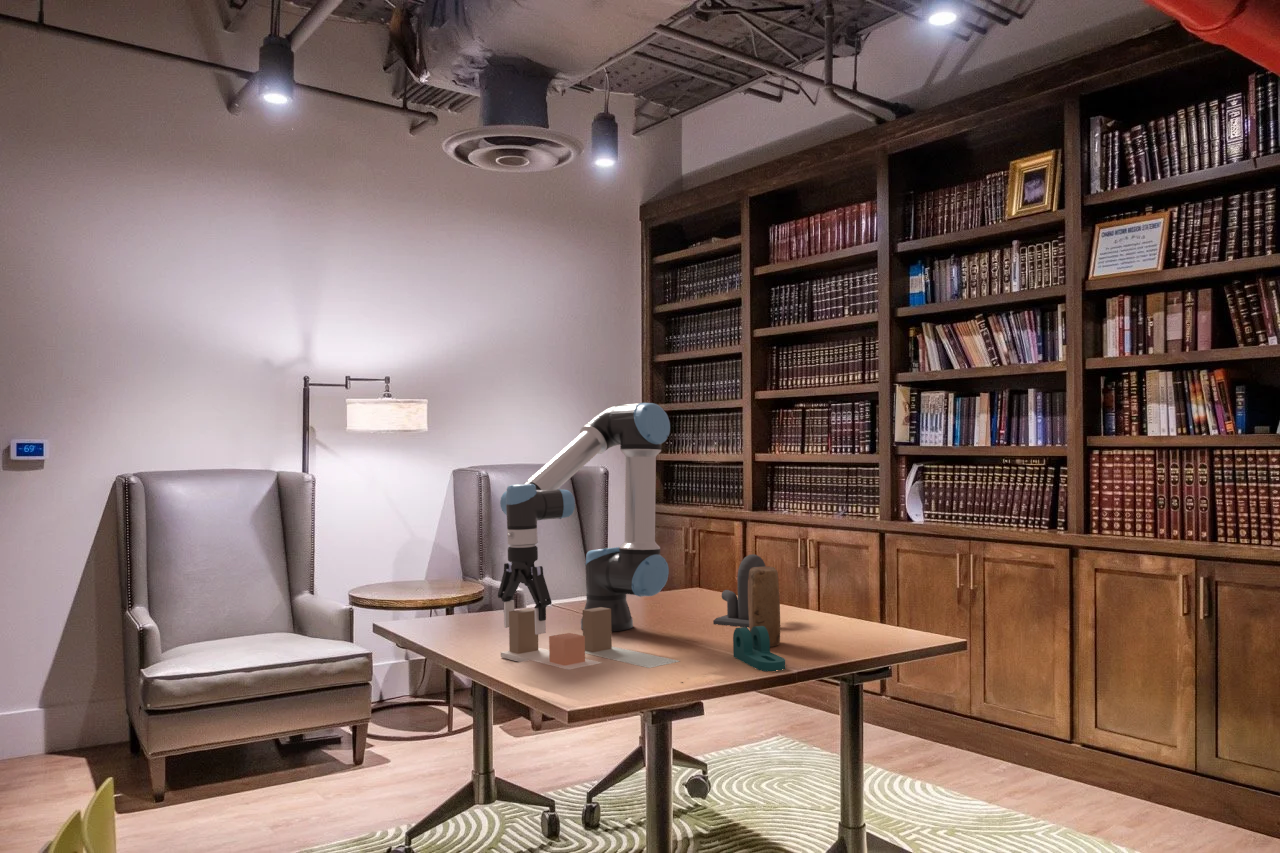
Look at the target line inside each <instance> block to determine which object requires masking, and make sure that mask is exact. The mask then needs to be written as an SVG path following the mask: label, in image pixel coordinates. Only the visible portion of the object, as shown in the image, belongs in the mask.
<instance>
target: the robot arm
mask: <svg viewBox="0 0 1280 853" xmlns="http://www.w3.org/2000/svg"><path fill="white" fill-rule="evenodd" d="M670 433H671V422H670V419H669V416H668V414H667V412H666V411H664V408H662V407H661V406H660V405H659V404H657V403H655V402H654V403H653V402H639V403H627V404H616V405H613V406H610V407H608V408H606V409H604V410H602V411H600V412H599V413H598V414H597V415H595V416H594V417H593V418H591V419H590V420H589V421H588V422H587V423H585V424H584V425H583V426H582V427H580V430H579V434H578V435H577V436H576V437H575V438H573V440H572V441H570V442H569V443H568V444H567V445H566V446H564V447H563V448H562V449H561V450H560V451H559V452H558V453H557V454H555V456H553V457H552V458H551V459H550V460H548V461H547V462H546V463H544V465H543V466H542V467H541V468H540V469H538V470H537V471H536V472H534V474H533V475H531V476H530V477H529V478H528V479H527V480H526V481H524V482H523V483H519V484H516V483H515V484H510V485H508V486H507V488H506V490H505V491H504V492H503V494H502V495H501V497H500V502H499V503H500V505H499V506H500V509H501V511H502V513H503V514H504V515H506V529H507V530H506V531H507V533H506V535H507V545H508V548H507V561H508V562H504V564H503V573H502V577H501V580H500V585H499V589H498V593H497V597H498V599H501V602H503V603H502V605H503V619H504V620H503V622H504V623H503V624H504V625H503V627H504V628H507V629H509V611H515V599H514V596H515V594H516V591H517V589H518V588H519V586H520V584H523V585H524V586H525V587H527V589H528V591H529V593H530V596H531V597H532V599H533V602H534V604H535V605H534V608H533V609H534V612H535V634H536V635H538V636H539V635H541V634H546V633H547V630H546V629H547V628H546V627H547V626H546V621H547V607H548V606H550V605H552V602H553V601H552V599H551V596H550V593H549V589H548V586H547V583H546V582H547V581H546V580H545V579H546V578H545V576H544V568H543V566H540V565H539V566H535V562H536V561H538V559H539V557H538V556H539V555H538V554H539V553H538V550H539V549H538V546H537V544H538V521H543V520H544V521H545V520H561V519H564V518H569V517H570V516H572V514H573V513H574V512H575V508H576V503H575V502H576V500H575V496H574V495H573V493H572V492H571V491H570V490H568V489H561V488H562V486H563V485H565V483H567V481H569V479H571V478H572V477H573V476H575V475H576V473H578V472H579V471H580V470H581V469H582V468H583V467H584V466H586V465H587V463H589V462H590V461H591V460H592V459H593V458H594V457H595V456H596V455H597V454H598V455H599V454H604V453H605V452H606V451H607V450H608V449H610V448H612V447H617V446H620V452H621V453H622V454H623V455H624V457H625V474H624V475H625V476H624V477H625V479H624V480H625V481H624V482H625V483H624V484H625V488H624V491H625V492H624V497H625V498H624V541H623V543H622V544H621V545H620V546H618V547H607V548H600V549H598V548H597V549H592V550H588V551H587V553H586V555H585V556H586V557H585V564H584V565H585V586H586V588H585V593H586V597H585V598H586V602H585V606H584V609H583V610H586V609H592V608H599V607H603V608H609V609H611V633H613V632H619V631H620V632H621V631H627V630H630V629H632V628H633V627H634V626H633V625H634V619H633V616H632V614H631V610H630V607H629V604H628V600H627V595H630V596H631V595H633V596H637V597H641V598H642V597H653V596H656V595H658V594H659V593H660V592H661V591H662V589H663V588H664V587H665V586H666V584H667V583H668V582H667V581H668V579H669V574H670V573H669V572H670V571H669V564H668V562H667V561H666V558H665V557H663V556H662V555H661V546H660V545H658V543H657V542H656V489H657V488H656V486H657V485H656V484H657V483H656V482H657V480H656V478H657V476H656V474H657V472H656V467H657V456H658V455H659V454H660V453H661V452H662V444H663V443H665V442H666V441H667V439H668V437H669V436H670ZM580 628H581V630H583V616H582V617H581V619H580Z"/></svg>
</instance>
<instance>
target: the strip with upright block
mask: <svg viewBox="0 0 1280 853" xmlns="http://www.w3.org/2000/svg"><path fill="white" fill-rule="evenodd" d="M582 617H583V629H582V636H585V655H586V654H587V655H590V656H596V657H600V658H604V659H609V660H613V661H616V662H617V661H618V662H621V663H625V664H628V665H629V664H630V665H633V666H634V665H635V666H638V667H642V668H647V669H651V668H656V667H660V666H665V665H669V664H670V665H671V664H675V663H680V662H681V660H678V659H672V658H668V657H664V656H658V655H653V654H650V653H644V652H640V651H636V650H631V649H625V648H622V647H616V646H613V645H612V644H613V643H612V642H613V641H612V632H611V609H609V608H603V607H599V608H592V609H586V610H584V609H582Z"/></svg>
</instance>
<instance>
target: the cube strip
mask: <svg viewBox="0 0 1280 853" xmlns="http://www.w3.org/2000/svg"><path fill="white" fill-rule="evenodd" d="M508 634H509V635H508V637H509V640H508V641H509V644H508V645H509V649H508V650H506V651H500V658H503V659H507V660H511V661H515V662H518V663H522V662H527V661H533V662H536V663H541V664H543V665H548V666H551V667H556V668H560V669H564V670H568V671H569V670H573V669H579V668H584V667H585V668H586V667H590V666H594V665H599V664H602V662H600V661H597V660H592V659H588V658H585V662H580V663H575V664H570V665H561V664H557V663H553V662H550V660H549V649H546V648H541V647H539V634H538V635H536V634H535V612H534V608H533V609H532V608H522V609H518V610H517V609H516V610H514V611H509V627H508Z"/></svg>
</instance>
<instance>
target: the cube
mask: <svg viewBox="0 0 1280 853" xmlns="http://www.w3.org/2000/svg"><path fill="white" fill-rule="evenodd" d="M548 644H549V645H548V647H549V648H548V650H549V660H550V662H553V663H557V664H561V665H570V664H575V663H580V662H585V659H586V653H585V636H583V634H582V635H581V634H576V633H572V632H567V633H561V634H560V633H559V634H555V635H550V636H548Z"/></svg>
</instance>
